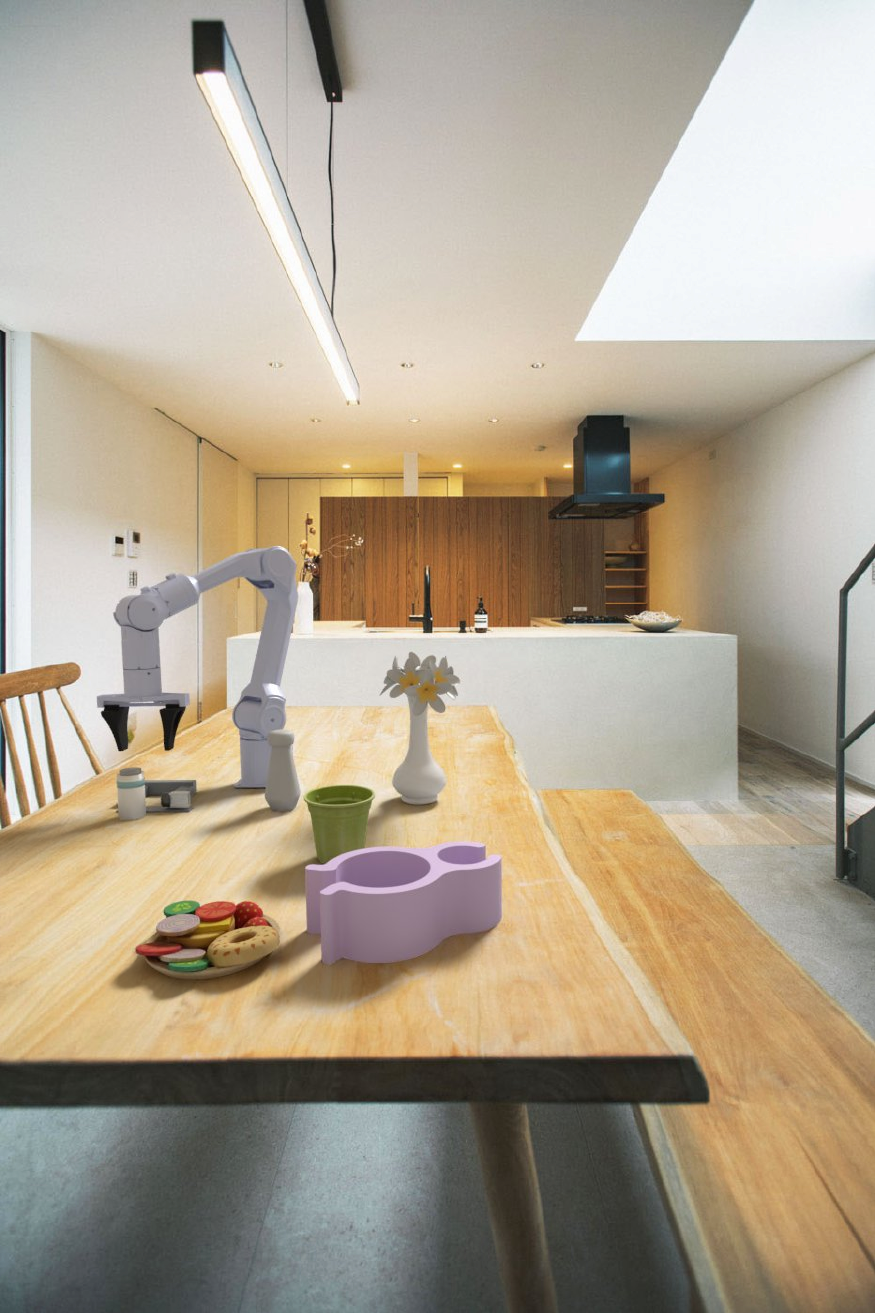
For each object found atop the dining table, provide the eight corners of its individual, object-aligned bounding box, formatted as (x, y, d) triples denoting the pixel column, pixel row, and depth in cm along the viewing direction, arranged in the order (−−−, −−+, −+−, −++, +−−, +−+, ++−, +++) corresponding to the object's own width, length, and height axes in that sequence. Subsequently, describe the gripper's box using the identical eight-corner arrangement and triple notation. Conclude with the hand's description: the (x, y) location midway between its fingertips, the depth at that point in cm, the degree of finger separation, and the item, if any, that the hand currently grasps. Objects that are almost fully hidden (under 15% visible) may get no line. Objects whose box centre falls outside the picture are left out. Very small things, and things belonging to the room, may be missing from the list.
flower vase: (404, 821, 107) (402, 660, 105) (371, 791, 124) (368, 652, 122) (480, 811, 112) (480, 656, 109) (438, 783, 129) (437, 649, 127)
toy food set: (280, 980, 63) (279, 945, 63) (125, 998, 60) (123, 962, 60) (281, 915, 76) (280, 886, 76) (154, 928, 73) (152, 898, 73)
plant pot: (387, 849, 95) (386, 787, 94) (357, 875, 86) (356, 807, 85) (326, 842, 98) (325, 782, 97) (291, 866, 89) (289, 800, 88)
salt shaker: (305, 803, 117) (303, 727, 116) (295, 814, 111) (292, 734, 110) (271, 802, 117) (269, 727, 116) (259, 813, 112) (257, 733, 110)
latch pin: (192, 804, 115) (191, 790, 115) (186, 808, 113) (186, 794, 112) (167, 804, 115) (166, 790, 115) (161, 808, 113) (160, 794, 112)
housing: (213, 791, 124) (212, 779, 124) (188, 811, 113) (188, 798, 112) (141, 792, 124) (140, 780, 124) (109, 812, 113) (109, 799, 113)
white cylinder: (150, 812, 112) (148, 766, 112) (139, 820, 108) (137, 772, 108) (125, 812, 113) (123, 766, 112) (113, 820, 108) (111, 773, 108)
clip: (468, 889, 82) (468, 832, 82) (521, 935, 71) (521, 869, 70) (300, 921, 74) (299, 858, 74) (329, 979, 63) (327, 905, 62)
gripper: (85, 671, 109) (90, 755, 110) (176, 670, 109) (180, 754, 110) (106, 666, 116) (111, 746, 117) (192, 665, 116) (196, 745, 117)
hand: (146, 749), depth 114 cm, fingers open, 7 cm apart
